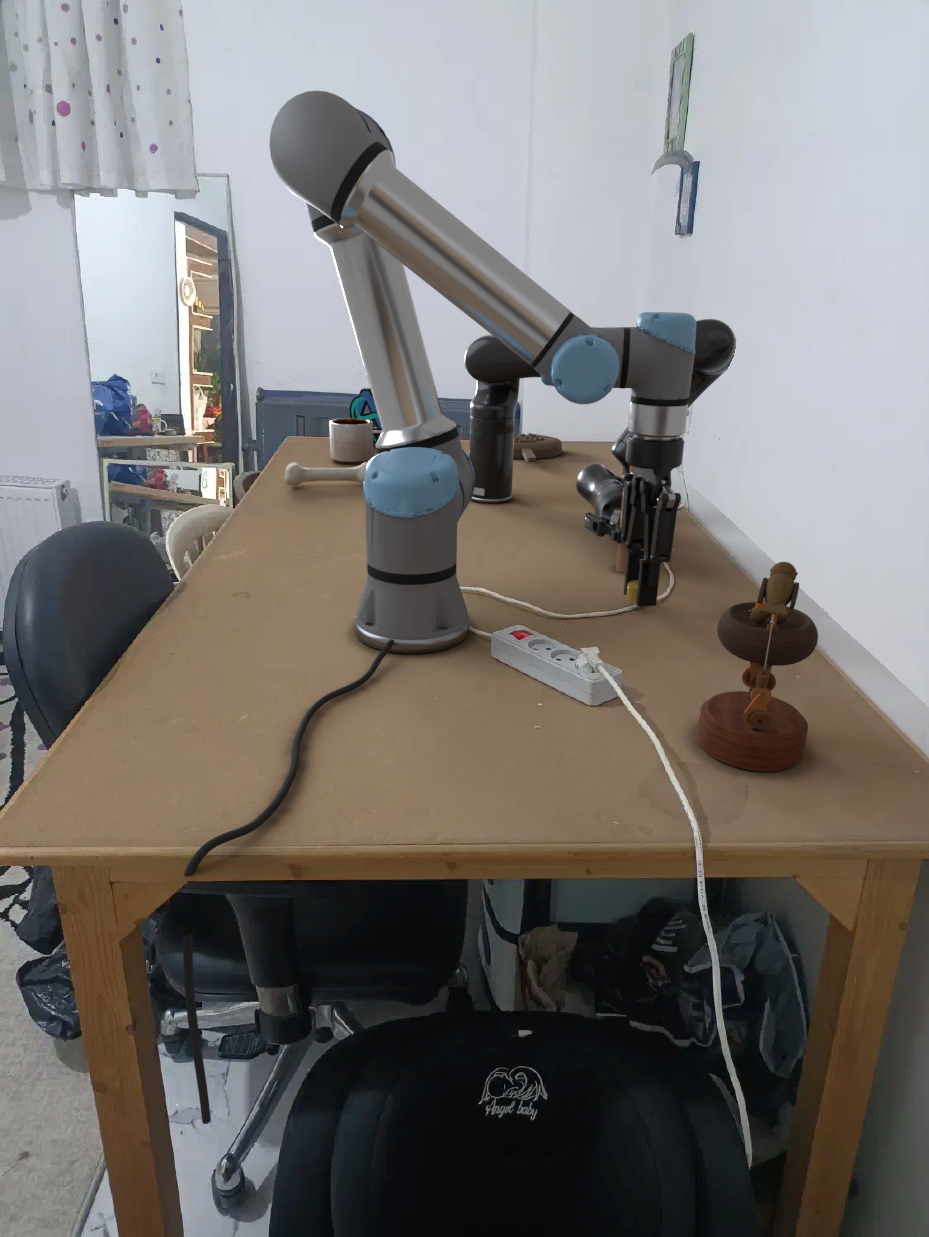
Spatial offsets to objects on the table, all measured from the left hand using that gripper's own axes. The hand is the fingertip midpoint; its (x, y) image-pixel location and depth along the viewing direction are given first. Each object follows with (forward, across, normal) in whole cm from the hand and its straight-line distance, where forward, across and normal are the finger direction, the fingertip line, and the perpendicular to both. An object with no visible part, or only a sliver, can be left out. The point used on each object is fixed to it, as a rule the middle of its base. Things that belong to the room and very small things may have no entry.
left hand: (639, 599), depth 121 cm
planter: (+2, +109, +30) cm, 113 cm away
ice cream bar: (+2, +106, -15) cm, 108 cm away
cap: (-2, 0, 0) cm, 2 cm away
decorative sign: (+2, +129, +24) cm, 131 cm away
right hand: (-5, +14, -5) cm, 16 cm away
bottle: (+2, +17, -6) cm, 18 cm away
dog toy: (+2, +83, +38) cm, 91 cm away
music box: (+2, -37, +4) cm, 37 cm away
